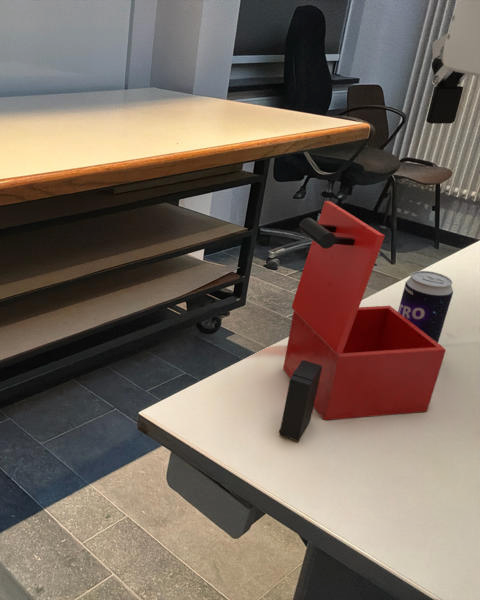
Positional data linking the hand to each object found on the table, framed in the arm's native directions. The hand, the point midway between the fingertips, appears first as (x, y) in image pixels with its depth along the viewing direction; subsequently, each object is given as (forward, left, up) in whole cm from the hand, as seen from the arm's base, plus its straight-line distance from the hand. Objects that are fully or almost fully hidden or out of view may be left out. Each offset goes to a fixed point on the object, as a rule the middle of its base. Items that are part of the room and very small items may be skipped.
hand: (468, 132), depth 72 cm
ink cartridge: (+18, +7, -32) cm, 38 cm away
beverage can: (-6, -6, -32) cm, 34 cm away
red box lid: (+12, 0, -16) cm, 20 cm away
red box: (+6, 0, -32) cm, 33 cm away
